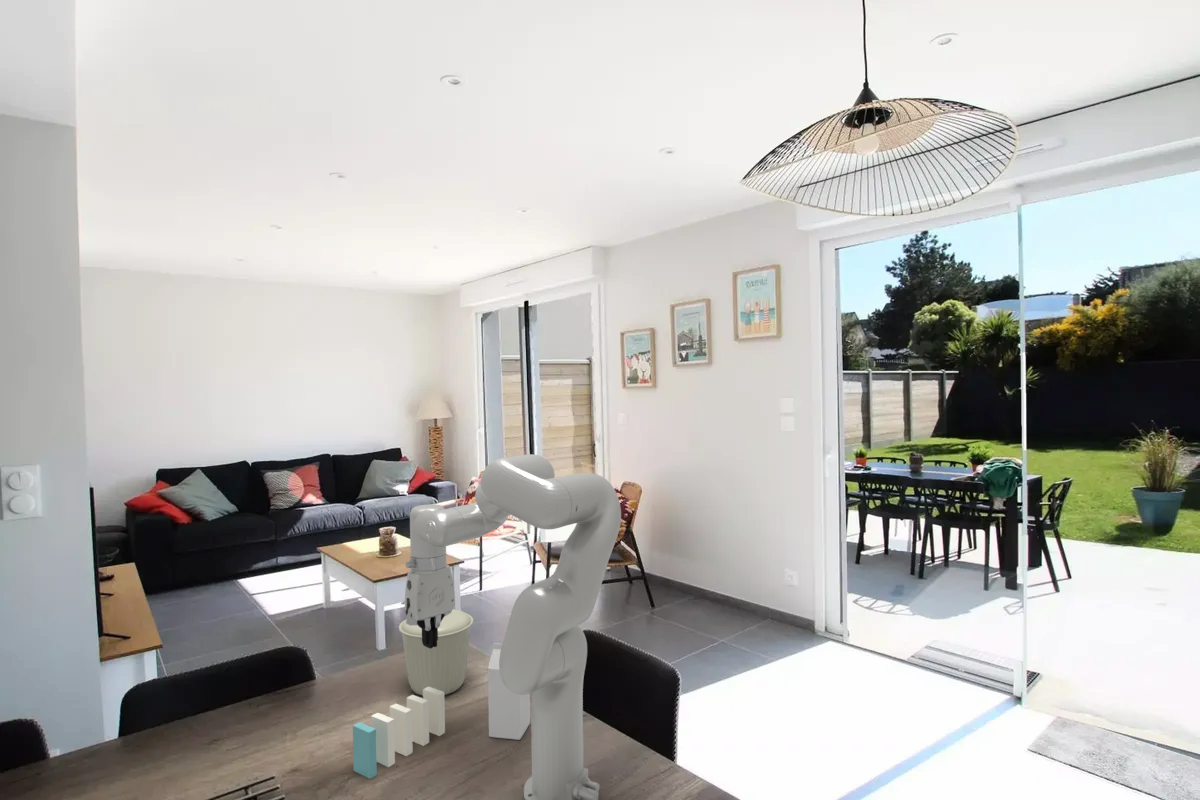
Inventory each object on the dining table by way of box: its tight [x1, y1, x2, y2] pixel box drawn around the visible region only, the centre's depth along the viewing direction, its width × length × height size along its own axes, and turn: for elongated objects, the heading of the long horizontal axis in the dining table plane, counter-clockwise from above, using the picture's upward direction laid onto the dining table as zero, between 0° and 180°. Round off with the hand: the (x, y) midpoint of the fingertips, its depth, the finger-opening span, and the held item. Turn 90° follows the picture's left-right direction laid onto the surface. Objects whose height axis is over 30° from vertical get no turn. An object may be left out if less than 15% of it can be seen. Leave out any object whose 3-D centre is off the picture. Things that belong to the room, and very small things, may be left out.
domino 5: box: [422, 686, 446, 737], centre depth 142 cm, size 5×2×9 cm, turn 57°
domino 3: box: [388, 702, 414, 757], centre depth 134 cm, size 5×2×9 cm, turn 57°
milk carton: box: [487, 642, 531, 741], centre depth 142 cm, size 7×7×19 cm
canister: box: [398, 608, 474, 697], centre depth 163 cm, size 18×18×21 cm
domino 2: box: [370, 712, 396, 768], centre depth 131 cm, size 5×2×9 cm, turn 57°
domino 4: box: [406, 694, 430, 747], centre depth 138 cm, size 5×2×9 cm, turn 57°
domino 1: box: [352, 721, 378, 779], centre depth 127 cm, size 5×2×9 cm, turn 57°
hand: (430, 645), depth 141 cm, fingers closed
